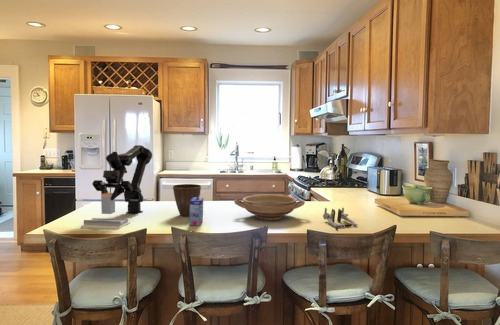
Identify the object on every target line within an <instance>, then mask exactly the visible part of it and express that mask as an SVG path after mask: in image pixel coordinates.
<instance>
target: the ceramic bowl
mask: <svg viewBox="0 0 500 325" xmlns="http://www.w3.org/2000/svg"><path fill="white" fill-rule="evenodd" d="M233 202H234V204H235V205H236V206H238V207H240V208H242V209H245V210H246V211H247V212H248V213H250V214H252V215H255V216H256V217H257V219H260V220H263V221H264V220H265V221H275V220H276V221H277V220H281V219H282V218H283V216H286V215H288V214H291V213H292V212H294V210H296V209H298V208H300V207H302V206H304V205H305V200H302V199H301V200H299V201H298V199H297V198H295V197H294V196H290V195H284V194H269V193H268V194H254V195H253V194H252V195H248V196H244V197H243V198H242V200H239V199H234V200H233Z"/></svg>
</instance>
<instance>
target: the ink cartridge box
mask: <svg viewBox="0 0 500 325" xmlns="http://www.w3.org/2000/svg"><path fill="white" fill-rule="evenodd" d="M200 195H201V193H200V194H199V196H198V197H199V198H198V197H197V198H192V199H191V200H190V216H189V226H191V227H192V226H197V227H200V226H201V225H202V223H203V222H204V221H203V220H204V197H200Z"/></svg>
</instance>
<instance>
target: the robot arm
mask: <svg viewBox="0 0 500 325" xmlns="http://www.w3.org/2000/svg"><path fill="white" fill-rule="evenodd" d="M135 158H136V160H137V161H136V162H137V163H136V167H135V169H134V170H135V171H134V173H133V176H132V180H131V181H130V180H124V176H125V174H128V170H127V168H126V167H129V166H131V165H132V163H133V159H135ZM152 158H153V152H152V151H151V150H150V149H149V148H146V147H145V146H143V145H140V144H139V145H134V146H133V147H131V148H130V149H129V150H128V151H126V152H124V153H119V154H118V152H117V151H112V152H111V153H109V154H108V155H106V157H105V160H106V162H107V163H108V165H109V167H110V168H111V169H112V170H104V171H103V175H102V178H105V181H106V182H105V181H103V179H100V180H99V179H95V180H93V182H92V185H91V186H92V187H93V188H94V189H95V191H97V192H101V193H100V195H101V194H103V193H109V191H108V189H109V188H110V189H114V191H113V192H112V193H113V194H112V197H111V200H114V199H115V200H116V199H117V197H119V196H120V195H122V194H123V198H124V202H125V203H127V211H126V212H125V213H127V214H140V213H143V210H142V209H141V203H143V202H144V196H143V194H142V189H141V187H140V186H141V183H142V179H143V176H144V172H145V169H146V167H147V165H148V164H150V162H151V160H152Z"/></svg>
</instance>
